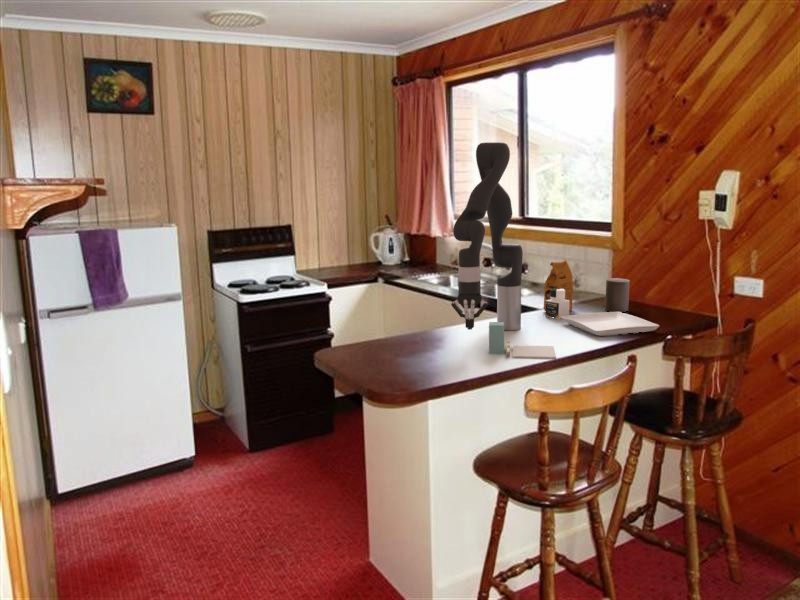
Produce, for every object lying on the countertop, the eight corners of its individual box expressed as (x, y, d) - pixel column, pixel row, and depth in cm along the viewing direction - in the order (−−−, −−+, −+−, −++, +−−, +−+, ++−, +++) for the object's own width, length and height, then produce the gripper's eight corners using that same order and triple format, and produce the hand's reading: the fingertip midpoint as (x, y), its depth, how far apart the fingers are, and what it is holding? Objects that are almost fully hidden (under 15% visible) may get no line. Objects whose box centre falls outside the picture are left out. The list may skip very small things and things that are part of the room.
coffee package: (539, 311, 294) (540, 261, 290) (557, 307, 302) (558, 258, 298) (558, 314, 286) (559, 263, 282) (575, 310, 294) (577, 260, 290)
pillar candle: (605, 312, 287) (607, 278, 285) (604, 308, 297) (605, 274, 294) (629, 313, 285) (631, 279, 282) (627, 309, 294) (629, 275, 292)
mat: (512, 347, 236) (512, 345, 236) (553, 347, 234) (553, 346, 234) (512, 357, 223) (512, 356, 223) (556, 358, 220) (556, 356, 220)
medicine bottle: (545, 316, 283) (545, 288, 281) (556, 314, 288) (556, 286, 285) (558, 319, 278) (558, 290, 275) (569, 316, 282) (570, 288, 280)
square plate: (596, 340, 244) (596, 330, 243) (559, 324, 270) (559, 315, 269) (660, 333, 251) (661, 323, 250) (618, 319, 277) (618, 310, 276)
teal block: (489, 350, 233) (489, 322, 231) (504, 350, 232) (504, 322, 231) (489, 353, 228) (489, 325, 227) (503, 354, 228) (503, 325, 226)
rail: (507, 346, 237) (507, 341, 236) (509, 346, 236) (509, 341, 236) (506, 357, 223) (506, 351, 223) (509, 357, 223) (509, 351, 223)
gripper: (489, 277, 230) (489, 326, 233) (451, 277, 232) (451, 326, 235) (488, 281, 222) (488, 332, 226) (448, 281, 225) (449, 331, 228)
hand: (469, 329), depth 231 cm, fingers closed
